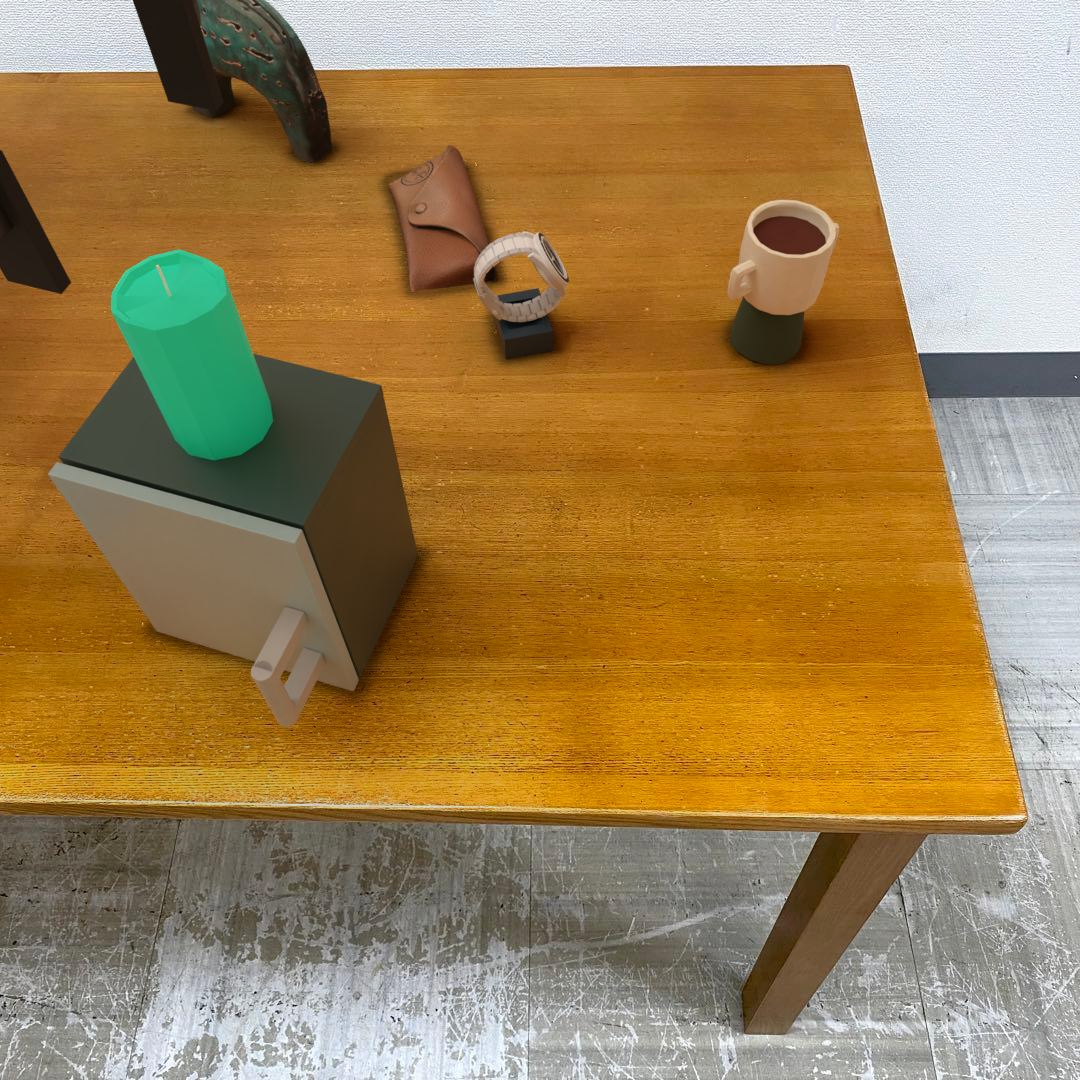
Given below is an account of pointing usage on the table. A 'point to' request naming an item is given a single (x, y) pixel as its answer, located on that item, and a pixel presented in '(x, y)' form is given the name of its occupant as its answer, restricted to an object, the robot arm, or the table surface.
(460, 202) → the sunglasses case
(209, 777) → the table surface
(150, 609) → the cabinet door
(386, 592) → the cabinet
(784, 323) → the character mug
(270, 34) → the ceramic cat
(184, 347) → the candle
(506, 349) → the watch
